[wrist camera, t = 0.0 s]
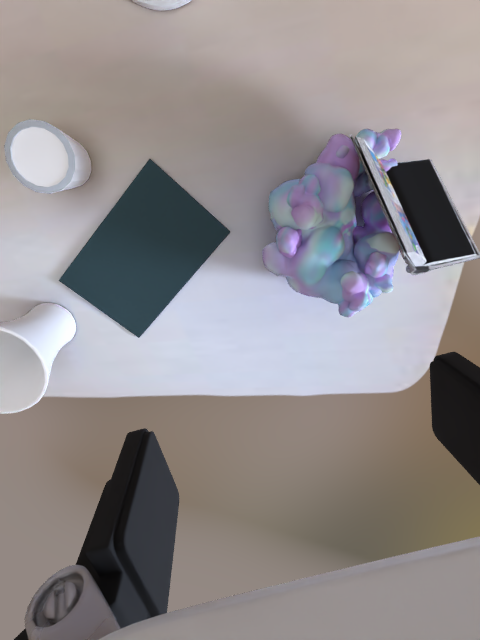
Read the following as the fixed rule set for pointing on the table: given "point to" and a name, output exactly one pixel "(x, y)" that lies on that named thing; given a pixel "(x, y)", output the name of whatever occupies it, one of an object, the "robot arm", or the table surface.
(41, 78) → the table surface
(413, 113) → the table surface
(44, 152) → the shot glass
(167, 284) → the mat
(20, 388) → the cup
